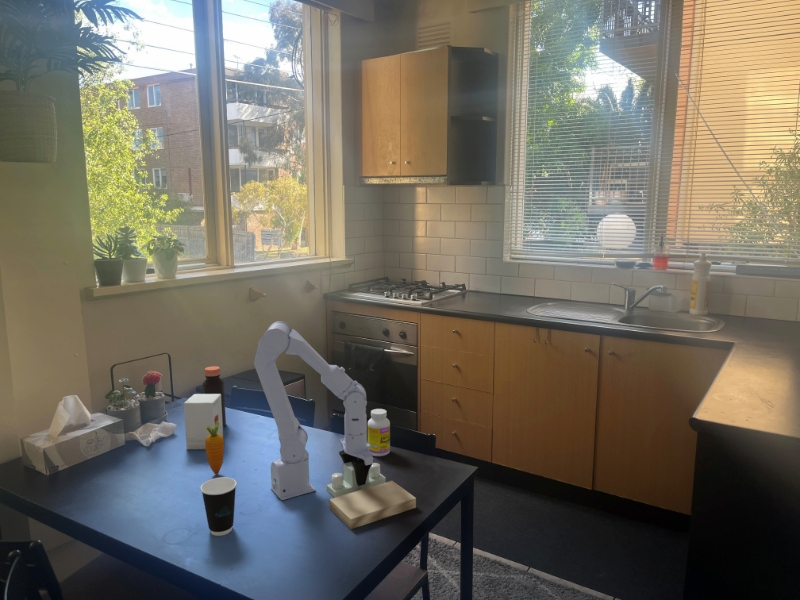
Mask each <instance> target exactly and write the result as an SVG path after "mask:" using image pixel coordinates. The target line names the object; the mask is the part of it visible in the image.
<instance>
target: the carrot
mask: <svg viewBox="0 0 800 600" xmlns="http://www.w3.org/2000/svg"><path fill="white" fill-rule="evenodd" d="M218 426H219V422H218V421H216V425H215V428H214V430H213V428H212V431H211V429H210V427H209V426H208V425H207V426H206V429H207V430H208V431H209V433H210V434H211V435H209V436H207V438H206V440H205V446H206V449H205V452H206V458H207V462H208V465H209V467H210V469H211V471H212V472H213V474H215V475H216V476H217V475H219V473H220V470H221V468H222V466H223V462H224V454H225V438H224V435H223V436H222V435H220V434H217V431H218Z"/></svg>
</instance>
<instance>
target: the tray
mask: <svg viewBox="0 0 800 600" xmlns="http://www.w3.org/2000/svg"><path fill="white" fill-rule="evenodd" d="M386 479H387V477H385V476H384V475H383V474H382V473H381V464H380V463H378V462H374V463H373V464H372V466H371V467H370V470H369V472H368V475H367V480H366V483H365V485H361V486H358V485H357V482H356V474H355V470H354V467H353V465H352V463H351V462H349V463H345V464H344V463H343V473H342V472H335V473H333V474H331V483H328V484H326V491H327V492H328V493H329V494H330V495H331V496H332V497H333V498H336V497H339V496H342V495H346V494H349V493H352V492H356V491H359V490H362V489H366V488H369V487H373V486H376V485H379V484H383V483H386V482H387V480H386Z"/></svg>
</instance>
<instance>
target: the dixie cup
mask: <svg viewBox="0 0 800 600" xmlns="http://www.w3.org/2000/svg"><path fill="white" fill-rule="evenodd" d="M237 485H238V483H237V481H236V480H235V479H234V478H232V477H224V476H222V477H215V478H211V479H209V480H208V479H207V480H206V481H205V482H203V483H202V484H201V485H200V488H199V489H200V491H201V494H202V499H203V504H204V509H205V516H206V520H207V526H208V529H209V530H210V534H211V535H213V536H216V537H217V536H219V537H220V536H225V535H228V534H229V533H230V532H232V530H233V526H234V520H235V519H234V518H235V505H236V504H235V501H236V489H237Z"/></svg>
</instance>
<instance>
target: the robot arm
mask: <svg viewBox="0 0 800 600" xmlns="http://www.w3.org/2000/svg"><path fill="white" fill-rule="evenodd" d="M257 345H258V346H257V349H256V353H255V357H254V360H253V365H254V366H253V367H254V368H255V371H256V373H257V375H258V379H259V381H260V384H261V387H262V390H263V393H264V395H265V398H266V400H267V402H268V405H269V408H270V410H271V414H272V416H273V419H274V421H275V422H274V423H275V424H276V427H277V433H278V434H277V437H278V441H279V444H280V446H279V454H280V457H279V458H278V459H276V460H274V461H272V462H271V463H270V479H271V481H270V482H271V486H270V489H271V490H272V492H273V493H274V494H275V495H276V496H277V497H278V498H279V499H280V501H283V500H287V499H292V498H295V497H298V496H301V495H305V494H309V493H312V492H315V491H316V487H314V486H313V485H312V484H311V481H310V460H309V459H310V455H309V452H308V450H307V449H306V447H307V443H308V439H309V437H308V436H309V435H308V432H307V431H306V430H305V428H303V427H302V426H301V424H300V420H299V419H297V417H295V416H296V415H295V413H294V411H293V407H292V405H291V402H290V400H289V397H288V395H287V391H286V389H285V386H284V384H283V380H282V378H281V375H280V372H279V370H278V367H277V364H276V361H277V359H278V357H279V356H280V355H281V354H282V353H283V352H284V351H285V350H286V352H285V355H291V356H292V355H294V356H295V355H296V356H298V357H299V358H301V360H303V361H304V362H305V363H306V364H307V365H308V366H310V367H311V368H312V369H313V370H315V372H317V373H318V374H320V382H321V383H322V384H323V385H324V386H325V387H326V388H327V389H328V390H329V391H331V393H332V394H333V395H335V396H336V397H337V398H338V399H340V400H342V401H343V402H342V404H343V406H344V409H345V413H344V419H343V420H344V425H343V426H344V438H341V439H340V438H339V446H340V447H341V448H343V450H340V451H339V452H338V454H339V456H340V458H341V460H342V462H343V464H345V463H349V462H351V463H352V465H353V467H354V470H355V474H356V482H357V485H358V486H361V485H365V483H366V480H367V475H368V472H369V470H370V467H371V466H372V464H373V463H375V462H374V457H373V455H371V454H370V452H369V448H371V445H369V444H368V421H367V413H366V412H367V408H366V407H367V404H368V401H367V392H366V389H365V388H364V386H363V385H362V384H361V383H359V382H358V381H357V380H353V379H352V378H351V377H350V376H349V375H348V374H347V373H346V369H345V368H344V367H343V366H341V367H340V366H338V365H337V364H329V363H328V362H327V361H326V360H325V359H324V358H323V357H322V355H320V354H319V353H318V352H317V351H316V349H314V348H313V347H312V345H310V343H309V342H307V340H306V339H305V338H304V337H303V336H302V335H301V333H299V332H298V331H297V330H295V329H294V328H291V326H290V325H289V324H288V323H286V322H285V321H279V320H278V321H275V322H273V323H271V324H270V325H269V326H268V328H267V329H266V330H265V332H264V334H263V335H262V337H261V338H260V339H259V341H258V344H257Z"/></svg>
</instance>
